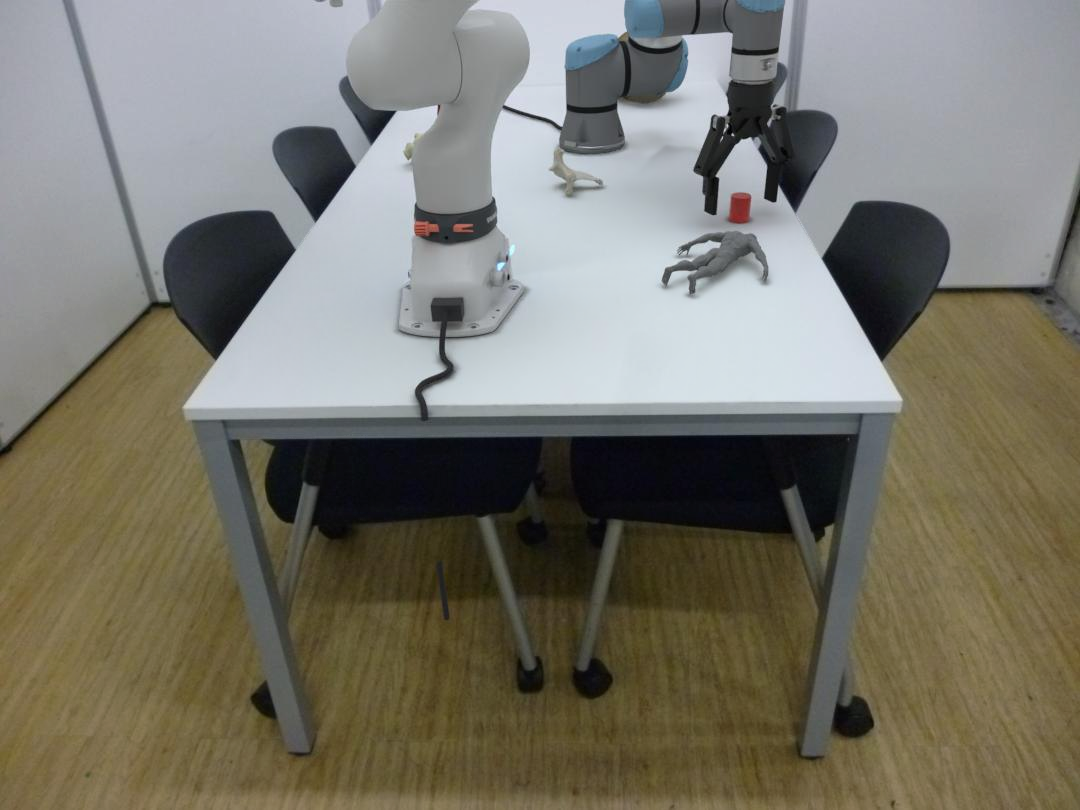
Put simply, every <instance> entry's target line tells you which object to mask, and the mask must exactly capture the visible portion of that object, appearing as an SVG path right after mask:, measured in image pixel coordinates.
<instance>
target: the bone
mask: <svg viewBox="0 0 1080 810" xmlns="http://www.w3.org/2000/svg"><path fill="white" fill-rule="evenodd" d="M564 153H565V151H564V150H563V149H561V148H560V147H555V148H554V150H553V153H552V154H553V163H552V165H551V166H550V167H548V168H547V169H548V171H550V172H552V173H553V174H554V175H555V176H556V177H558V178H560V179H562V180H564V181H565V182H566V188H565V190H564V193H565V195H566V196H570V195H572V193H573V192H574V190H573V187H574V184H575V183H576V182H577V181H581V180H583V181H591V182H595V183H596V184H598V185H599V186H603V185H604V181H603V180H602V179H600V178H597V177H595V176H593V175H591V174H589V173H586V172H583V171H580V170H579V171H578V170H574V169H572V168H570V167H568V166H567V165H566V164H565V162H564V158H563V156H564Z"/></svg>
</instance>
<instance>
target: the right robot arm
mask: <svg viewBox="0 0 1080 810" xmlns="http://www.w3.org/2000/svg"><path fill="white" fill-rule="evenodd" d="M785 5H786V0H624V7H623V18H624V26H625V29H626V32H628V33H629V38H628V40H626V41H619V39H618V38H619V37H618V35H616V34H614V33H605V34H601V33H600V34H594V35H588V36H585V37H580V38H578V39H576V40H574V41H572V42H570V43H569V44H568V45H567V47H566V49H565V57H564V58H565V59H564V67H563V68H564V70H565V104H566V105H565V106H566V107H565V108H566V110H565V115H564V119H563V122H562V126H561V125H559V124H558V123H557V122H555V121H554V120H552V119H550V118H547V117H544V116H540V115H536V114H534V113H533V114H532V113H530V112H526V111H522V110H520V109H516V108H513V107H510V106H508V105H505V104H504V105H503V107H502V109H504V110H506V111H508V112H511V113H514V114H517V115H520V116H523V117H525V118H526V117H527V118H530V119H533V120H537V121H542V122H545V123H548V124H550V125H551V126H553V128H555V129H556V130H559V131H560V134H559V137H558V148H561V149H563V150H564V152H566V153H571V154H574V155H604V154H609V153H614V152H617V151H620V150H621V149H623V148H625V146H626V135H625V132H624V129H623V126H622V122H621V118H620V115H619V111H618V101H619V100H618V99H619V98H624V97H625V96H637V95H648V94H656V95H659V94H662V93H666V94H667V93H673V92H674V91H676V90H677V89H679V88H680V87H681V86H682V84H683V82H684V80H685V78H686V74H687V71H688V66H689V59H688V58H689V57H688V56H689V47H688V46H689V45H688V43H687V41H686V39H685V38H684V37H683V36H695V35H708V34H709V35H711V34H723V33H729V34H732V40H731V48H730V49H731V50H730V61H729V72H728V73H729V74H728V77H729V78H730V79H731V80H730V81H729V82H728V89H727V105H728V110H727V113H726V115H719V114H712V115H711V117H710V123H709V124H710V125H709V129H708V132H707V135H706V136H705V138H704V142H703V144H702V147H701V149H700V152H699V154H698V156H697V159H696V162H695V164H694V166H693V169H692V172H693V173H694V174H696V175H698V176H701V177H702V187H701V188H702V190H701V192H702V195H703V196H704V206H703V212H705V213H707V214H709V215H711V216H713V217H714V216H717V214H718V202H719V201H718V200H719V188H720V177H718V176H717V174H718V173H719V171H720V170H721V168H722V166H723V165H724V163H725V162H726V160H727V159H728V158H729V156H730V155H731V153H732V151H733V150H734V148H735V147H736V145H739V144H740V142H741V141H742V140H748V139H750V138H754V139H755V138H758V139H759V141H760V143H761V144H762V146H763V147H764V148H763V149H765V152H766V153H767V155H768V156H769V159H770V160H771V162H767V164H766V174H765V184H764V192H763V199H764V200H766V201H768V202H769V203H770V202H771V203H772V204H774V203H777V201H778V192H779V185H780V183H781V182H782V180H783V173H784V167H786V166H788V165H789V161H792V160H793V159H794V158H795V151H794V147H793V142H792V139H791V134H790V130H789V127H788V123H787V107H786V106H783V105H779V104H776V103H774V101H775V92H776V81H775V80H774V79H775V78H776V77H777V72H778V64H779V63H778V62H779V53H780V45H781V35H782V28H783V27H782V26H783V20H784V19H783V18H784V10H785ZM770 120H771V124H772V128H773V132H774V136H775V137H774V136H773V135H772V134H773V132H772V130H771V128H770V126H769V125H768V123H769V121H770Z"/></svg>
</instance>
